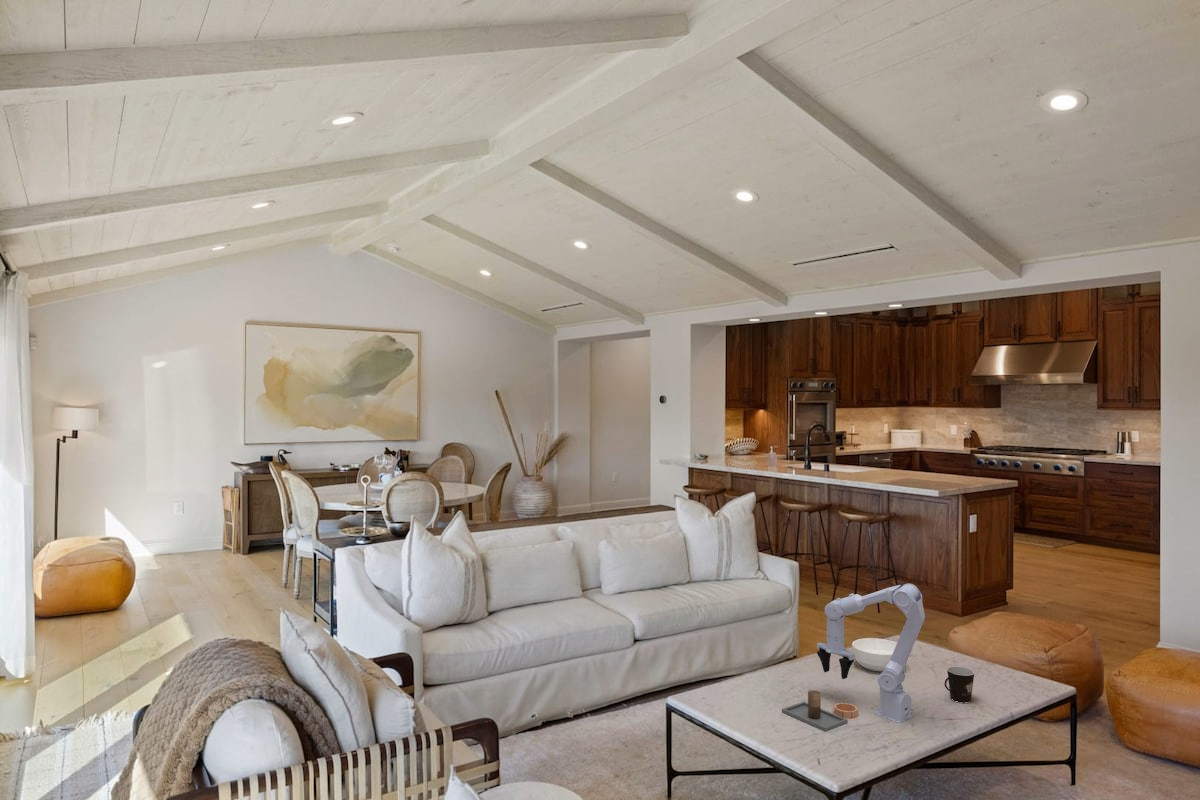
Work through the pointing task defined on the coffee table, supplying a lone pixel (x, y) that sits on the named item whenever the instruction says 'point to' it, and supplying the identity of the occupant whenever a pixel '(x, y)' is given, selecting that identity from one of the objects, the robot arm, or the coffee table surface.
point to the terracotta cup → (846, 710)
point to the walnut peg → (814, 704)
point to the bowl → (873, 652)
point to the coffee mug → (960, 683)
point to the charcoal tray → (824, 723)
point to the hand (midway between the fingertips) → (835, 674)
